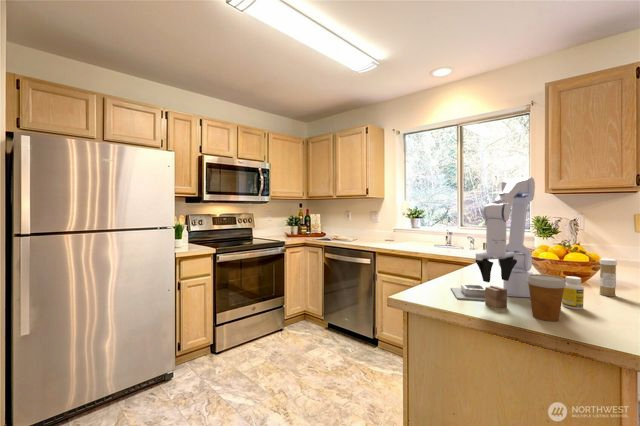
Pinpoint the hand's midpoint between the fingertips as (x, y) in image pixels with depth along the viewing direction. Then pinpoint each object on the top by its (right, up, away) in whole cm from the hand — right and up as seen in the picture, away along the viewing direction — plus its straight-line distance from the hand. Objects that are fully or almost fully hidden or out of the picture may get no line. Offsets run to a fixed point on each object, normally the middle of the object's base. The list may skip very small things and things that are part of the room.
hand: (495, 280), depth 101 cm
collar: (-1, -8, +13) cm, 15 cm away
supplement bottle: (+25, -9, -1) cm, 26 cm away
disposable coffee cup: (+9, -9, -10) cm, 16 cm away
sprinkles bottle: (+49, -8, +12) cm, 51 cm away
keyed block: (0, -9, 0) cm, 9 cm away
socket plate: (-1, -8, +13) cm, 15 cm away
